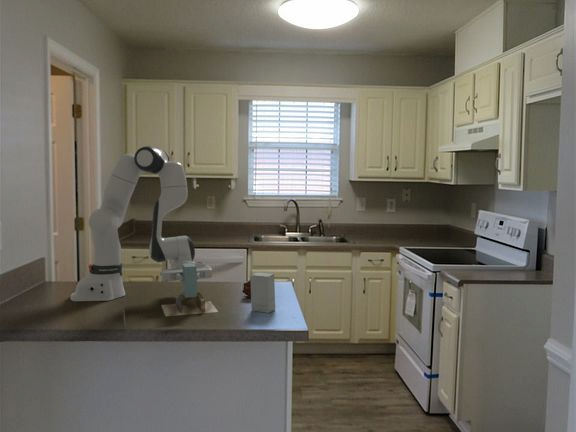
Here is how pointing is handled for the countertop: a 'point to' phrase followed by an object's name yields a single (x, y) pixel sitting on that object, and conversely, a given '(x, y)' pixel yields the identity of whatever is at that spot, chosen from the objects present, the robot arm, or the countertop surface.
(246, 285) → the dragon fruit
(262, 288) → the skincare box
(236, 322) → the countertop surface
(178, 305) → the metal bookend
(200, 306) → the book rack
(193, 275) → the book
